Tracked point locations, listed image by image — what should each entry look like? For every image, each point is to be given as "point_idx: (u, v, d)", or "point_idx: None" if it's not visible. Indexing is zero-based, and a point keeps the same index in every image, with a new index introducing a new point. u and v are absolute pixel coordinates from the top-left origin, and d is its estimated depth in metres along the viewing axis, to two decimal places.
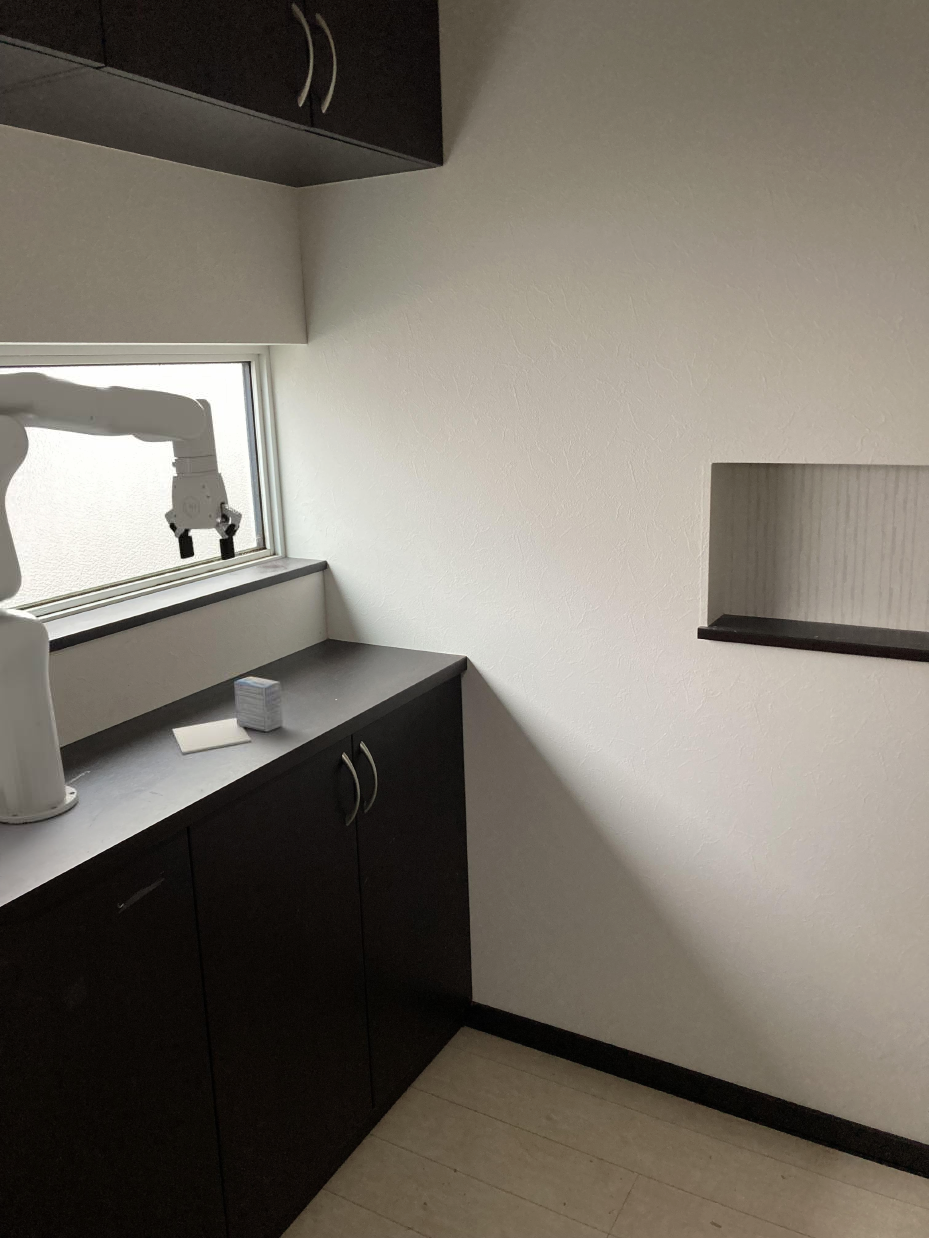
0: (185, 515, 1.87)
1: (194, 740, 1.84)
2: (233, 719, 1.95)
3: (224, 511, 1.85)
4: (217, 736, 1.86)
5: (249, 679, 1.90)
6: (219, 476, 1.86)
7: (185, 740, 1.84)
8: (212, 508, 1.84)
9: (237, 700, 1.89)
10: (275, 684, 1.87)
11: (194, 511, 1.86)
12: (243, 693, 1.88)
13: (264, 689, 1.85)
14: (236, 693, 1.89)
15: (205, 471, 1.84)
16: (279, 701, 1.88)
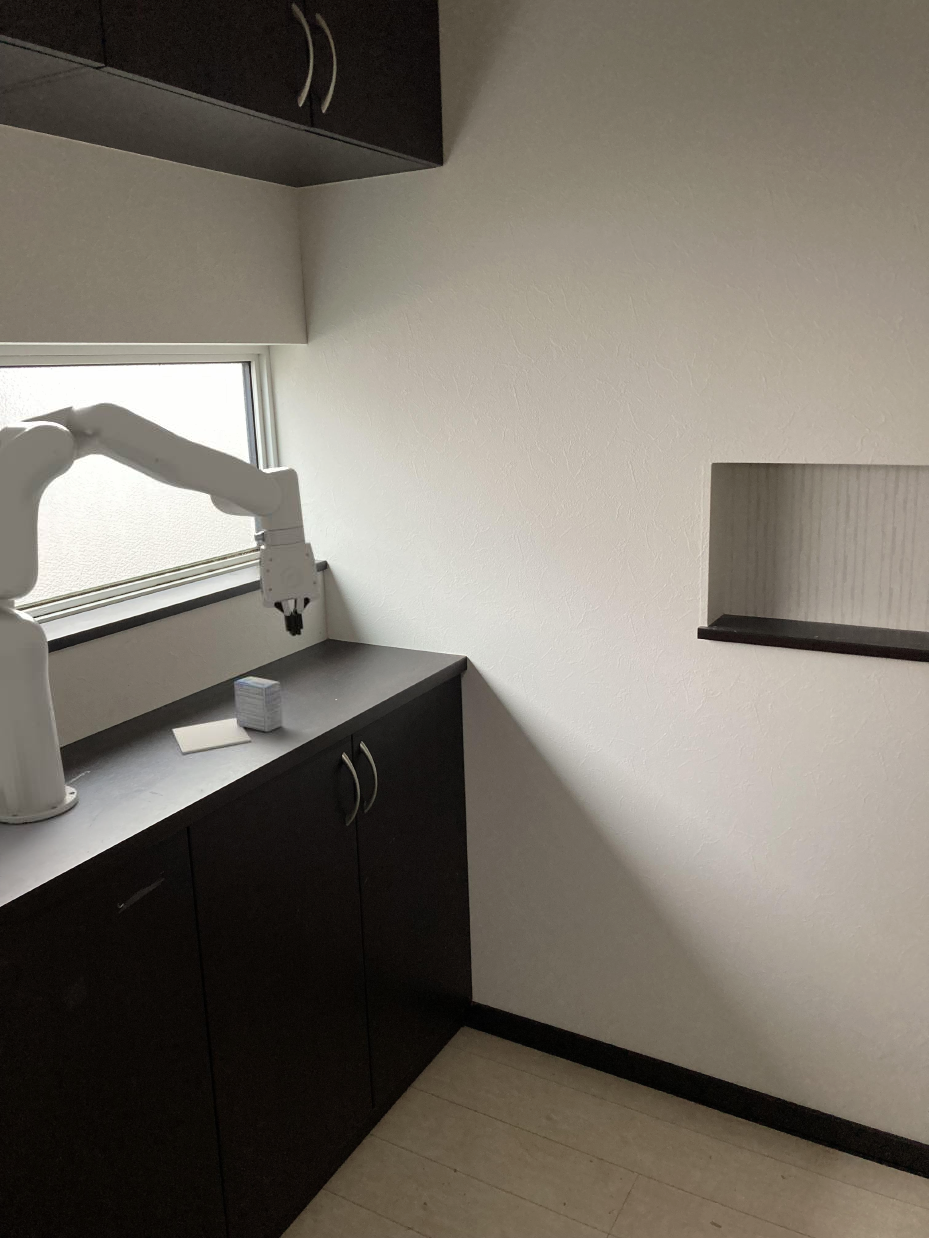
0: (284, 587, 1.84)
1: (194, 740, 1.84)
2: (233, 719, 1.95)
3: None
4: (217, 736, 1.86)
5: (249, 679, 1.90)
6: None
7: (185, 740, 1.84)
8: (316, 574, 1.86)
9: (237, 700, 1.89)
10: (275, 684, 1.87)
11: (295, 581, 1.85)
12: (243, 693, 1.88)
13: (264, 689, 1.85)
14: (236, 693, 1.89)
15: (304, 539, 1.85)
16: (279, 701, 1.88)
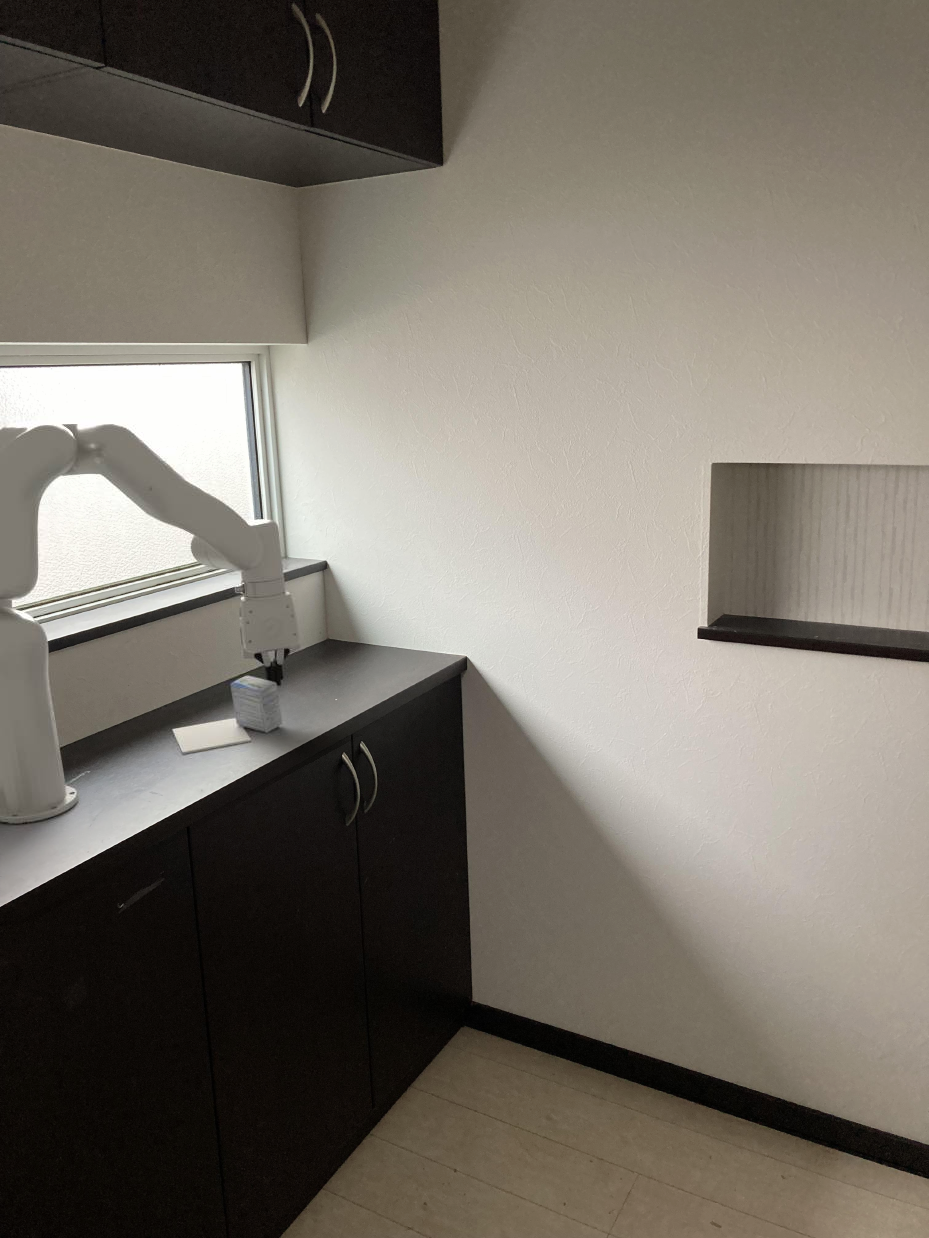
0: (263, 638, 1.85)
1: (194, 740, 1.84)
2: (233, 719, 1.95)
3: None
4: (217, 736, 1.86)
5: (245, 680, 1.89)
6: None
7: (185, 740, 1.84)
8: (296, 626, 1.87)
9: (235, 701, 1.89)
10: (271, 685, 1.86)
11: (275, 633, 1.85)
12: (240, 695, 1.87)
13: (260, 692, 1.84)
14: (233, 695, 1.88)
15: (284, 591, 1.86)
16: (277, 701, 1.88)
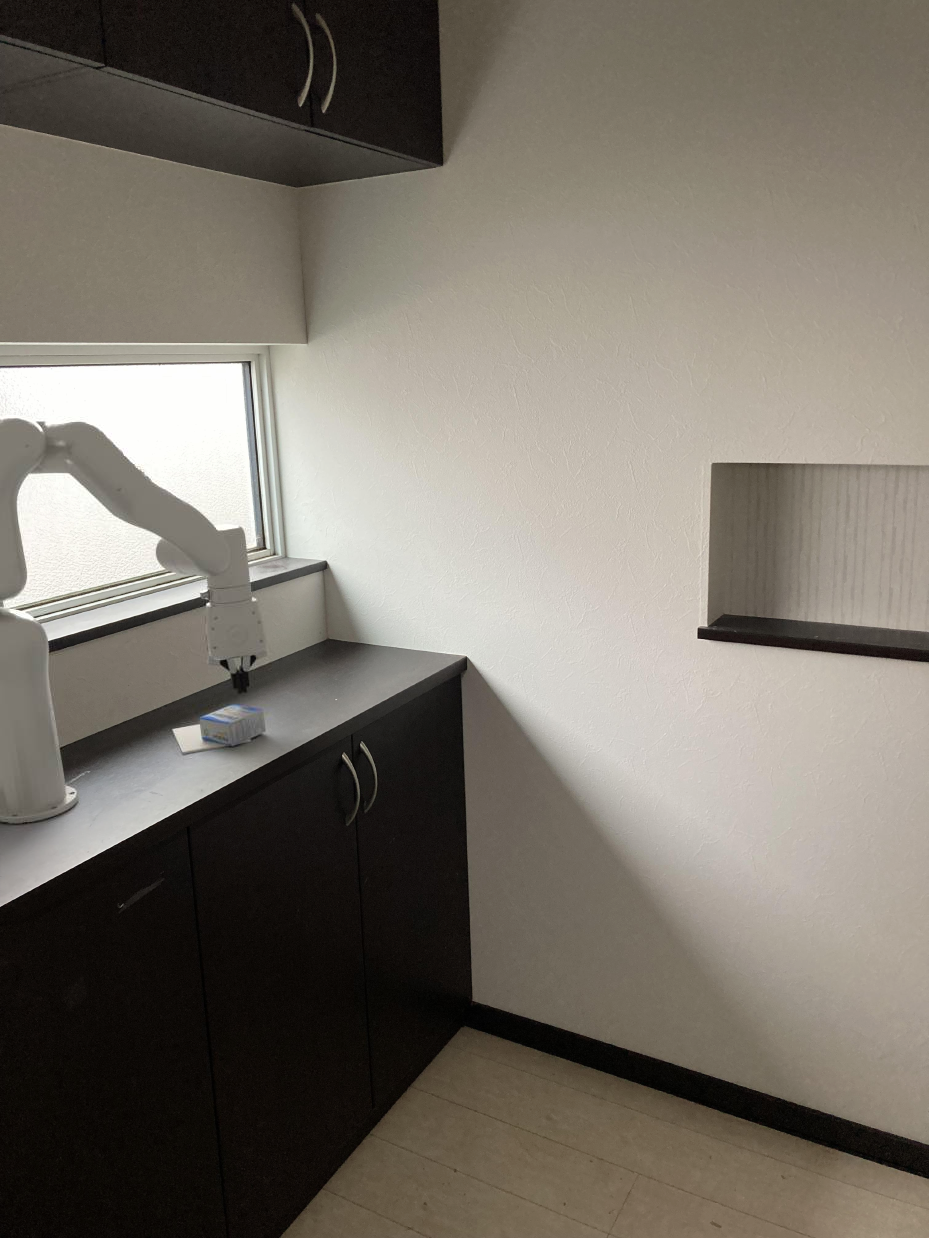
0: (229, 645, 1.82)
1: (194, 740, 1.84)
2: None
3: None
4: None
5: (206, 729, 1.82)
6: None
7: (185, 740, 1.84)
8: (263, 632, 1.85)
9: None
10: (230, 730, 1.79)
11: (241, 639, 1.83)
12: None
13: (233, 745, 1.80)
14: None
15: (250, 597, 1.83)
16: (244, 720, 1.82)
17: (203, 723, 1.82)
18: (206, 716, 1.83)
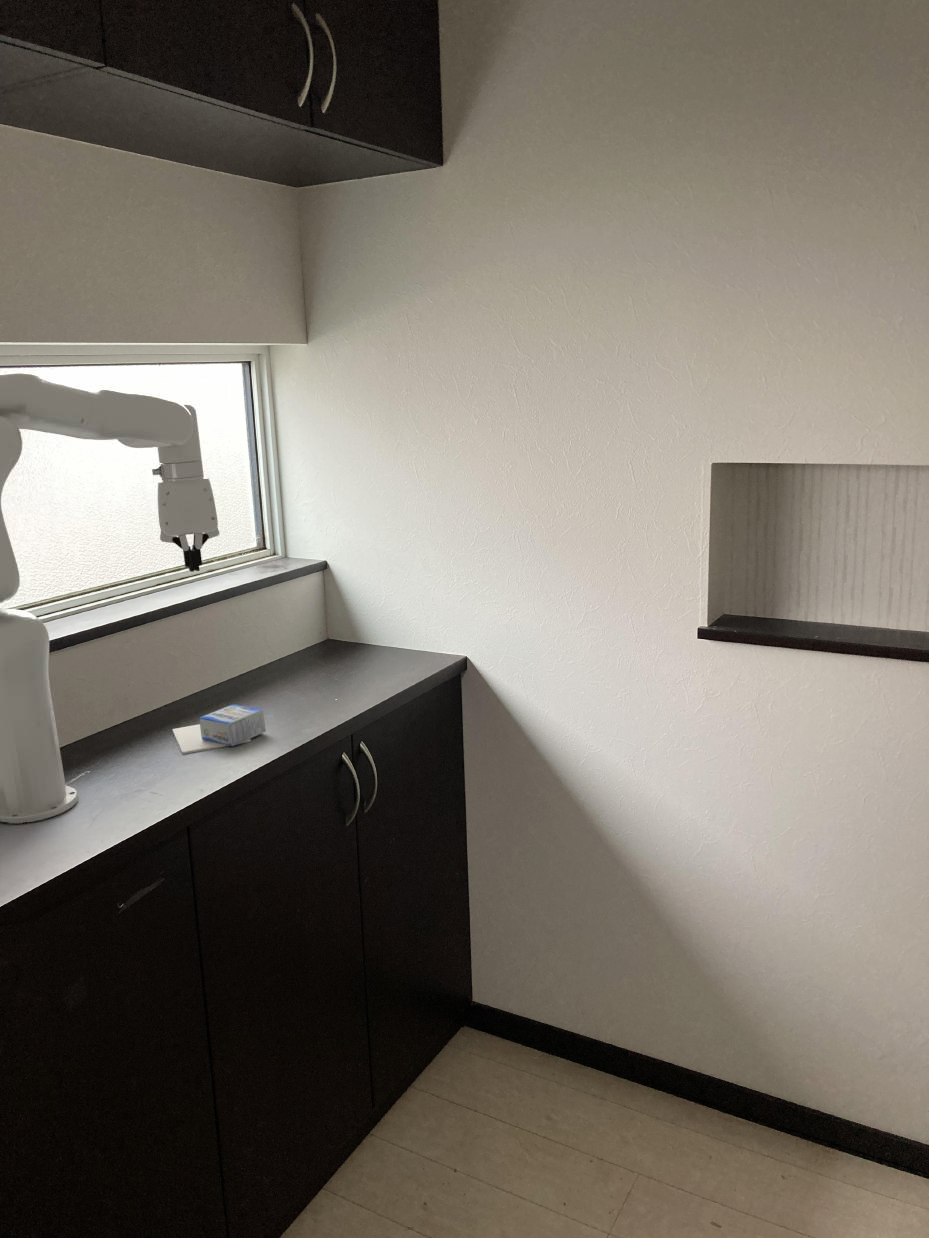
0: (181, 521, 1.86)
1: (194, 740, 1.84)
2: None
3: None
4: None
5: (206, 729, 1.82)
6: None
7: (185, 740, 1.84)
8: (214, 510, 1.88)
9: None
10: (230, 730, 1.79)
11: (193, 516, 1.86)
12: None
13: (233, 745, 1.80)
14: None
15: (202, 475, 1.87)
16: (244, 720, 1.82)
17: (203, 723, 1.82)
18: (206, 716, 1.83)
